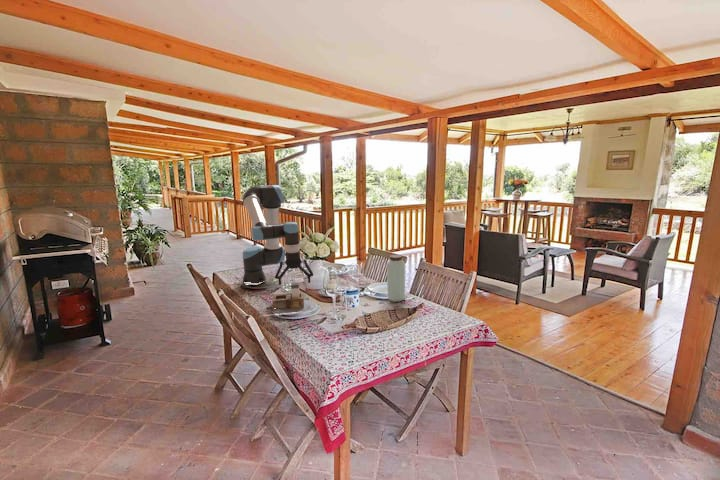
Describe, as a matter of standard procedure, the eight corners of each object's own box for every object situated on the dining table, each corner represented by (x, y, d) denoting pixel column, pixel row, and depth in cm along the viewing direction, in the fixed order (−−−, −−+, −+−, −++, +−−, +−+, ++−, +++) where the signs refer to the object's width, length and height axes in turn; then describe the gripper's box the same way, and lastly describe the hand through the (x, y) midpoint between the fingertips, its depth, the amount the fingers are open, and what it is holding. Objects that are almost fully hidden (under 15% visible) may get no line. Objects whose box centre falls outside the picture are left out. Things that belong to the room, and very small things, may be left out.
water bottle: (384, 301, 198) (384, 257, 192) (390, 294, 207) (389, 253, 201) (402, 303, 194) (402, 259, 188) (407, 296, 203) (406, 254, 198)
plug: (292, 303, 195) (291, 282, 193) (300, 302, 196) (298, 282, 193) (292, 306, 192) (291, 285, 189) (300, 305, 192) (298, 284, 190)
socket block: (274, 304, 197) (274, 294, 196) (304, 302, 199) (303, 291, 198) (273, 312, 187) (272, 301, 186) (304, 309, 190) (303, 298, 188)
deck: (289, 296, 209) (289, 294, 209) (306, 295, 210) (306, 293, 210) (288, 302, 199) (288, 301, 199) (306, 301, 201) (306, 299, 200)
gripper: (267, 254, 182) (271, 293, 187) (316, 251, 186) (318, 289, 190) (269, 251, 189) (272, 288, 194) (316, 248, 193) (318, 285, 198)
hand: (295, 289), depth 192 cm, fingers open, 13 cm apart
